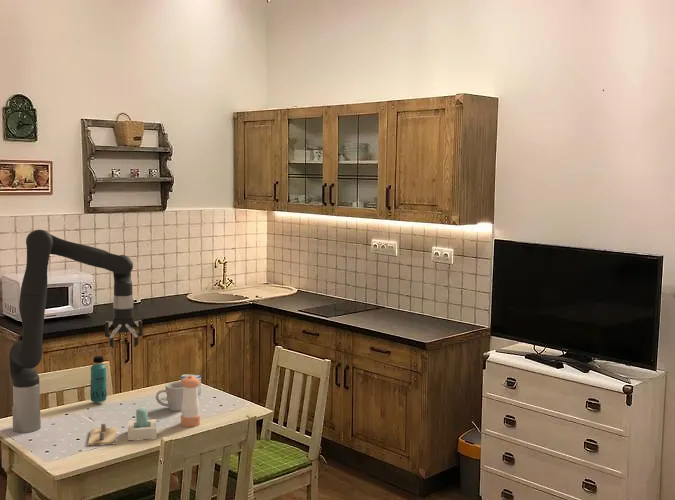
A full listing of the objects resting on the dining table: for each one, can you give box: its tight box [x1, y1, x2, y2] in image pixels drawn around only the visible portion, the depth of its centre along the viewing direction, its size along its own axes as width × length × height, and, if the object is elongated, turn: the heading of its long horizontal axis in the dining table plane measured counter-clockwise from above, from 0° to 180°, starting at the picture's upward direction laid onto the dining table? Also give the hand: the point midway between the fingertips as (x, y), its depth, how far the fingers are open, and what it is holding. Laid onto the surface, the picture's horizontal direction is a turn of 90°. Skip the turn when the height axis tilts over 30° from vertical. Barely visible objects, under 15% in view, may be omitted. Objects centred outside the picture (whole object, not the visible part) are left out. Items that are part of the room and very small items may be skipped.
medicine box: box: [180, 373, 202, 397], centre depth 325 cm, size 8×4×9 cm, turn 81°
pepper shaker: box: [180, 374, 201, 428], centre depth 288 cm, size 7×7×19 cm
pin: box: [135, 408, 149, 428], centre depth 275 cm, size 4×4×9 cm
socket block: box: [127, 418, 157, 441], centre depth 276 cm, size 10×10×4 cm
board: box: [87, 423, 117, 447], centre depth 272 cm, size 9×15×4 cm, turn 14°
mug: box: [155, 380, 183, 412], centre depth 305 cm, size 10×15×10 cm
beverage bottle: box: [89, 355, 108, 403], centre depth 310 cm, size 6×7×20 cm
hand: (123, 346), depth 293 cm, fingers open, 8 cm apart
